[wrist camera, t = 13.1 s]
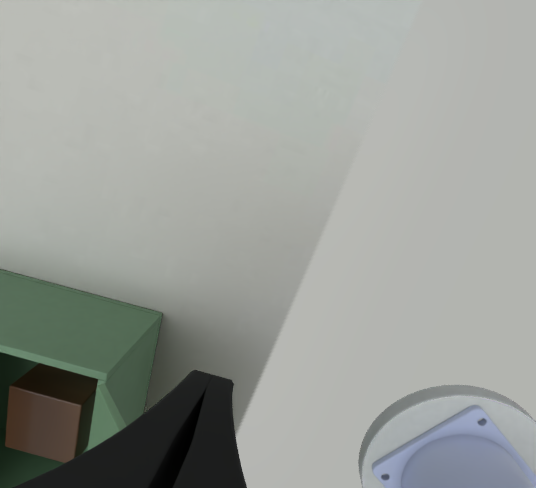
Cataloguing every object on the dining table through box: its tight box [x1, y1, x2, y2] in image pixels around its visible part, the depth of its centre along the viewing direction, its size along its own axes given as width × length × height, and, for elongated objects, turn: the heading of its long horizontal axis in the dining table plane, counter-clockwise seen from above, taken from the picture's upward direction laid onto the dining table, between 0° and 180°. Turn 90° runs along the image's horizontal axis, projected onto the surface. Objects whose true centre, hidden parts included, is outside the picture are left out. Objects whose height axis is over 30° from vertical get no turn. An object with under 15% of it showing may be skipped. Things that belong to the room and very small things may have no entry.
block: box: [5, 363, 98, 463], centre depth 20 cm, size 4×4×4 cm
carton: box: [0, 269, 162, 488], centre depth 19 cm, size 13×12×7 cm
